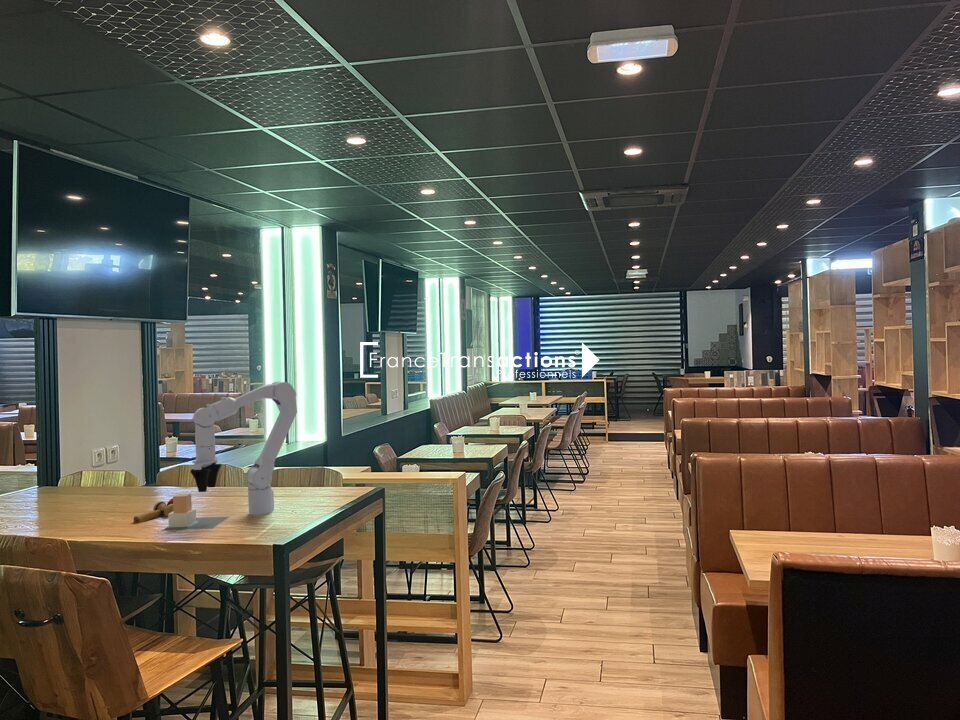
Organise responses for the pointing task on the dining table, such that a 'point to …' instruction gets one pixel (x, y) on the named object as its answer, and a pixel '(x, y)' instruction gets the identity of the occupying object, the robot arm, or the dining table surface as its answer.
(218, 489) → the dining table surface
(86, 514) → the dining table surface
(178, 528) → the grey flat plate
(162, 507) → the kendama
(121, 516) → the dining table surface
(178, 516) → the base block
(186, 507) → the terracotta block
